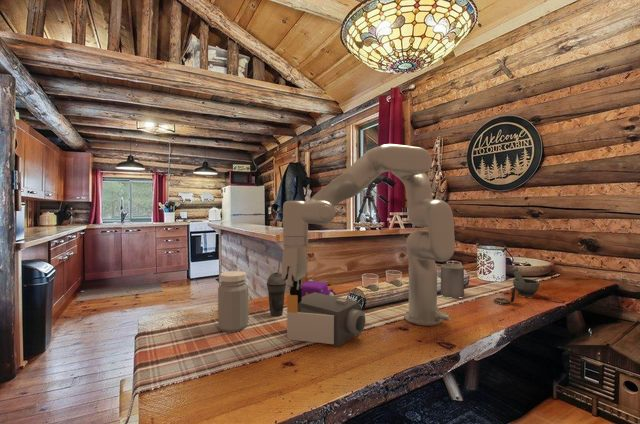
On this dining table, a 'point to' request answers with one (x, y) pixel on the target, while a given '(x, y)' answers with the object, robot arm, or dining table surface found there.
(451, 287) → the grey canister
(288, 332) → the door
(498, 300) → the compass
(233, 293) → the jar
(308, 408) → the dining table surface
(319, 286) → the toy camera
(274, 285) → the beverage cup
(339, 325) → the camera body
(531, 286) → the mortar and pestle
